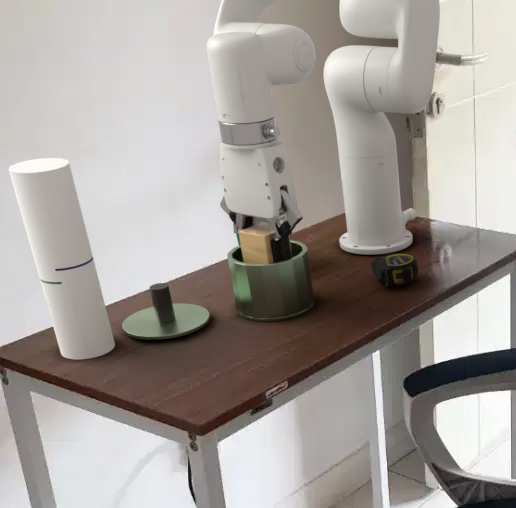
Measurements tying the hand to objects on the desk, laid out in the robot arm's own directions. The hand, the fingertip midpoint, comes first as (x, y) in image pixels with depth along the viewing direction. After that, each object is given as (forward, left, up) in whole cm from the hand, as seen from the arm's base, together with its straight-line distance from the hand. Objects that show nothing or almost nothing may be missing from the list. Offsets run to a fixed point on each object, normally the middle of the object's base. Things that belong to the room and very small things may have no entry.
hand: (268, 259), depth 147 cm
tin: (0, 0, -7) cm, 7 cm away
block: (0, 0, 0) cm, 0 cm away
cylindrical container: (+24, -13, -8) cm, 28 cm away
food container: (-12, -11, -8) cm, 18 cm away
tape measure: (-16, +10, -8) cm, 20 cm away
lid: (+13, -9, -7) cm, 17 cm away
